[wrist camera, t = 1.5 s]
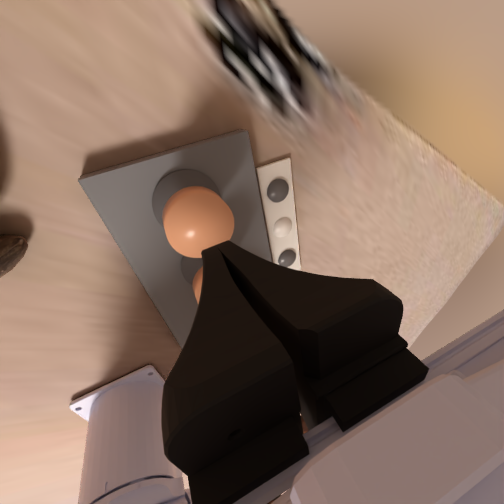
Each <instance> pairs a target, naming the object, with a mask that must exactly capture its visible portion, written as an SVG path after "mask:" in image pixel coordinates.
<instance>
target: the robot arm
mask: <svg viewBox="0 0 504 504" xmlns="http://www.w3.org/2000/svg"><path fill="white" fill-rule="evenodd" d="M201 255H202V260H203V278H202V287H201V294H200V299H199V304H198V308H197V312H196V315H195V318H194V321H193V324H192V327H191V330H190V333H189V335H188V337H187V340H186V342H185V344H184V347H183V349H182V351H181V353H180V355H179V358H178V360H177V361H176V363H175V365H174V367H173V369H172V371H171V372H170V374H169V376H168V378H167V380H166V382H165V381H164V379H163V378H162V377H161V376H160V374H159V373H158V372H157V370H156V369H155V368H154V367H153V366H152V365H147V366H145V367H143V368H141V369H139V370H137V371H134V372H132V373H130V374H128V375H126V376H124V377H122V378H120V379H118V380H115V381H113V382H111V383H109V384H107V385H105V386H103V387H101V388H99V389H96V390H94V391H92V392H90V393H88V394H86V395H84V396H82V397H80V398H78V399H75V400H73V401H72V402H71V403H70V405H69V408H70V409H71V410H72V411H74V412H75V413H77V414H78V415H79V416H81V417H82V418H84V419H85V420H87V421H88V429H87V437H86V445H85V453H84V461H83V468H82V476H81V484H80V492H79V500H78V504H267V503H269V502H270V501H272V500H273V499H275V498H276V497H278V496H279V495H281V494H282V493H284V492H285V491H286V490H287V491H286V492H285V493H284V494H282V495H281V496H280V497H279V498H277V499H276V500H275V501H274V502H272V503H271V504H504V310H502V311H501V312H499V313H497V314H496V315H494V316H493V317H491V318H489V319H488V320H486V321H485V322H483V323H481V324H480V325H478V326H476V327H475V328H473V329H472V330H470V331H468V332H467V333H465V334H464V335H462V336H460V337H459V338H457V339H456V340H454V341H452V342H451V343H449V344H447V345H446V346H444V347H443V348H441V349H439V350H438V351H436V352H435V353H433V354H431V355H430V356H428V357H427V358H425V359H423V360H422V361H420V360H419V359H418V358H417V357H416V356H415V355H414V354H412V353H411V352H410V351H409V350H408V349H407V348H406V347H407V346H408V343H407V341H405V340H404V339H403V338H402V337H401V336H400V335H399V334H398V332H399V328H400V324H401V320H402V316H403V304H402V301H401V300H400V299H399V298H398V297H397V296H396V295H394V294H393V293H392V292H390V291H389V290H388V289H386V288H385V287H384V286H382V285H381V284H379V283H378V282H376V281H374V280H373V279H356V278H340V277H332V276H324V275H318V274H312V273H308V272H303V271H298V270H294V269H291V268H288V267H284V266H281V265H278V264H275V263H273V262H270V261H268V260H265V259H263V258H261V257H259V256H257V255H255V254H253V253H251V252H249V251H247V250H245V249H243V248H241V247H240V246H238V245H236V244H235V243H233V242H231V241H229V240H227V241H225V242H222V243H219V244H217V245H214V246H212V247H209V248H207V249H204V250H202V252H201ZM300 413H301V415H302V417H303V419H304V422H305V424H306V426H307V428H308V430H309V431H308V432H306V433H303V427H302V422H301V416H300ZM182 472H183V473H185V474H186V475H187V476H188V481H189V487H190V489H185V490H184V484H183V477H182ZM289 488H290V489H289ZM288 489H289V490H288Z"/></svg>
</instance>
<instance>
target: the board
mask: <svg viewBox="0 0 504 504" xmlns="http://www.w3.org/2000/svg"><path fill="white" fill-rule="evenodd" d="M78 182H79V183H80V185H81V187H82V188H83V190H84V191H85V193H86V195H87V196H88V198H89V199H90V201H91V203H92V204H93V206H94V208H95V209H96V211H97V212H98V214H99V216H100V217H101V219H102V221H103V222H104V224H105V225H106V227H107V229H108V230H109V232H110V233H111V235H112V237H113V238H114V240H115V242H116V243H117V245H118V246H119V248H120V250H121V251H122V253H123V254H124V256H125V258H126V259H127V261H128V263H129V264H130V266H131V267H132V269H133V271H134V272H135V274H136V276H137V277H138V279H139V280H140V282H141V284H142V285H143V287H144V288H145V290H146V292H147V293H148V295H149V297H150V298H151V300H152V301H153V303H154V305H155V306H156V308H157V309H158V311H159V313H160V314H161V316H162V318H163V319H164V321H165V322H166V324H167V326H168V327H169V329H170V330H171V332H172V334H173V335H174V337H175V339H176V340H177V342H178V343H179V345H180V347H181V348H182V349H183V347H184V344H185V342H186V340H187V337H188V335H189V333H190V330H191V327H192V324H193V321H194V318H195V315H196V312H197V308H198V303H197V300H196V297H195V294H194V291H193V287H192V283H193V279H194V276H195V274H196V273H197V271H198V270H199V269H200V268H201V267H202V266H203V260H202V258H192V257H187V256H184V255H182V254H180V253H178V252H177V251H176V250H175V249H174V248H173V247H172V246H171V245H170V243H169V241H168V239H167V237H166V233H165V229H164V226H163V220H162V215H163V209H164V207H165V204H166V203H167V201H168V200H169V198H170V197H171V196H172V195H173V194H174V193H176V192H177V191H179V190H181V189H183V188H186V187H191V186H201V187H205V188H208V189H210V190H212V191H214V192H215V193H216V194H218V195H219V197H220V198H221V199H222V200H223V201H224V202H225V203H226V204H227V205H228V206H229V208H230V209H231V211H232V214H233V217H234V231H233V234H232V236H231V238H230V240H229V241H231V242H233V243H235V244H236V245H238V246H240V247H241V248H243V249H245V250H247V251H249V252H251V253H253V254H255V255H257V256H259V257H261V258H263V259H265V260H268V261H270V262H272V260H271V254H270V249H269V243H268V238H267V232H266V227H265V221H264V216H263V210H262V205H261V199H260V194H259V188H258V183H257V178H256V172H255V167H254V161H253V156H252V150H251V145H250V139H249V134H248V131H247V130H243V129H240V130H237V131H233V132H230V133H226V134H223V135H220V136H216V137H213V138H209V139H206V140H202V141H199V142H195V143H192V144H188V145H185V146H182V147H178V148H175V149H171V150H168V151H164V152H161V153H157V154H154V155H150V156H147V157H143V158H140V159H137V160H133V161H130V162H126V163H123V164H119V165H116V166H112V167H109V168H105V169H102V170H99V171H95V172H92V173H88V174H85V175H81V176H80V178H79V179H78Z"/></svg>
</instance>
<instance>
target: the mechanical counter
mask: <svg viewBox="0 0 504 504" xmlns="http://www.w3.org/2000/svg"><path fill="white" fill-rule="evenodd" d="M27 248H28V244H27V240H26V239H25V238H23V237H22V236H16V235H3V236H0V277H2V276H3V275H5V274H6V273H8V272H9V271H11V270H12V269H13V268H14V267H15V266H16V264H17V263H18V262H19V261H20V260H21V259H22V258H23V256H24V254H25V252H26V250H27Z"/></svg>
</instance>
